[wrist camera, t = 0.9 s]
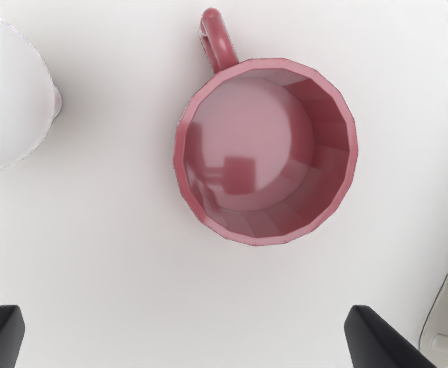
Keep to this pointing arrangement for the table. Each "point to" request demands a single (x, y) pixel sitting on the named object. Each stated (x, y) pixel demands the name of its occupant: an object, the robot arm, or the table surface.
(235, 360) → the table surface
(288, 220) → the mug
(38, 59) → the lightbulb
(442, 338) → the beige plastic curved shell
